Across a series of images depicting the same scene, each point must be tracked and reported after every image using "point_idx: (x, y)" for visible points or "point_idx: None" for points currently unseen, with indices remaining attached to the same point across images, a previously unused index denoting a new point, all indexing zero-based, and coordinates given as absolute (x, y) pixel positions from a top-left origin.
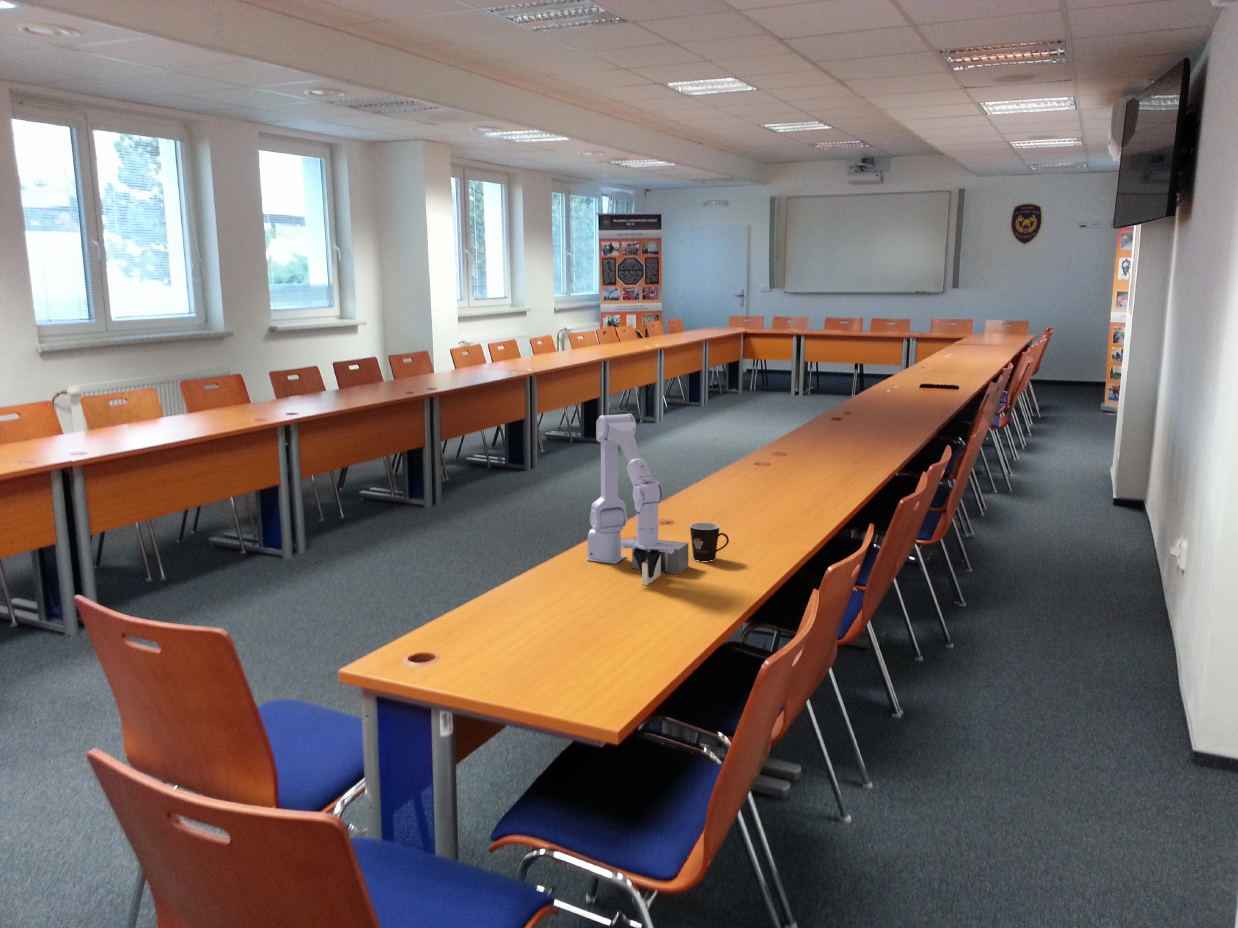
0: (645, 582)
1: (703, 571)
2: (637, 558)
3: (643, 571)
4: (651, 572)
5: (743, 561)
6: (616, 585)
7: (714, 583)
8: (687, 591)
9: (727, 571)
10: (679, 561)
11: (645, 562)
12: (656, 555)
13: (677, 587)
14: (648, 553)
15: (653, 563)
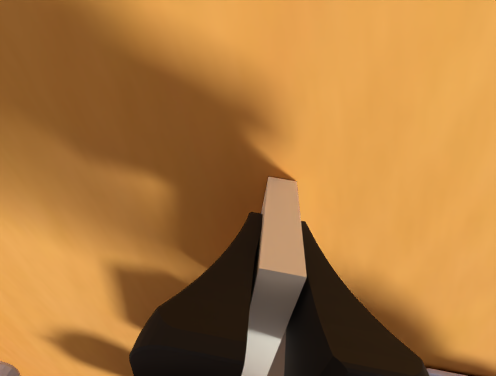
0: (277, 185)
1: (132, 323)
2: (358, 319)
3: (291, 226)
4: (241, 230)
5: (88, 371)
6: (449, 142)
7: (34, 238)
8: (52, 124)
9: (75, 325)
10: None
11: (280, 288)
12: (139, 336)
13: (124, 173)
14: (225, 367)
15: (208, 271)
